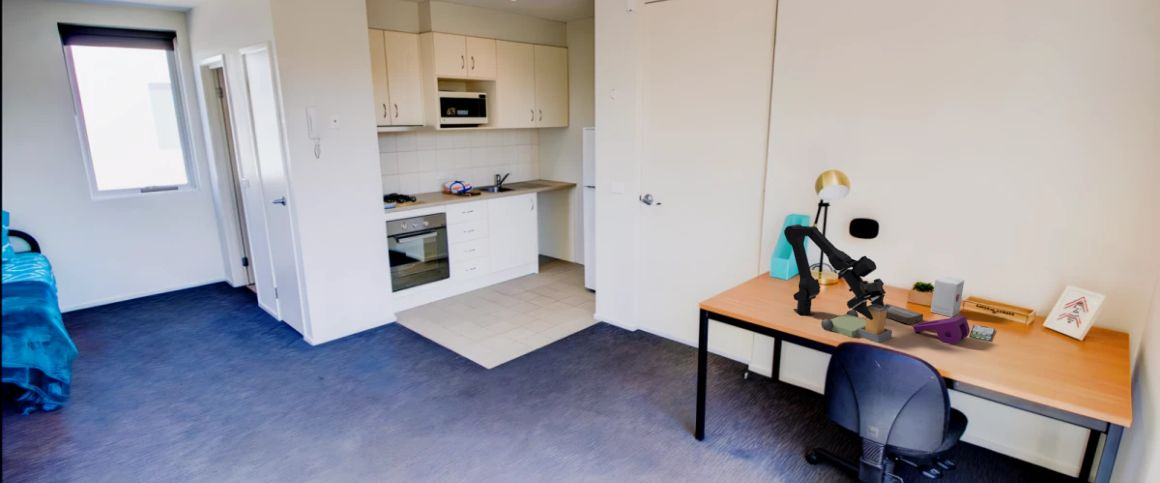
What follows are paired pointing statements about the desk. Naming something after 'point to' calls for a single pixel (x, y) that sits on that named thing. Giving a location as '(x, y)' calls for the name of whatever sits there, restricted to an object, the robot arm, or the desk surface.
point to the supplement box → (947, 296)
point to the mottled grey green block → (982, 333)
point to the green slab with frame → (854, 327)
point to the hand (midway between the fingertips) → (879, 316)
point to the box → (902, 314)
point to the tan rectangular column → (876, 319)
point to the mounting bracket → (946, 329)
